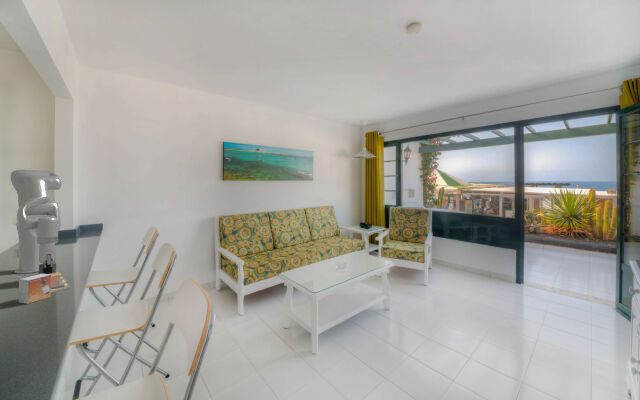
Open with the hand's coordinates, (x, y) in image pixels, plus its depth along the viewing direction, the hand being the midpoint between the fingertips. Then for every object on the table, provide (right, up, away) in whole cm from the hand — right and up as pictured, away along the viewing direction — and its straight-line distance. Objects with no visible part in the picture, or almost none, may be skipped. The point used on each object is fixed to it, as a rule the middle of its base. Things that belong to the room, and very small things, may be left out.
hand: (47, 273), depth 131 cm
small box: (+19, -5, -22) cm, 29 cm away
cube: (+13, -3, -10) cm, 17 cm away
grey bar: (+7, -3, -6) cm, 10 cm away
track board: (+4, -4, -3) cm, 7 cm away
